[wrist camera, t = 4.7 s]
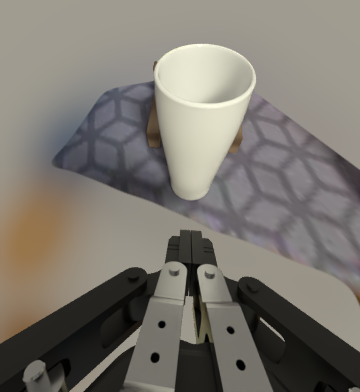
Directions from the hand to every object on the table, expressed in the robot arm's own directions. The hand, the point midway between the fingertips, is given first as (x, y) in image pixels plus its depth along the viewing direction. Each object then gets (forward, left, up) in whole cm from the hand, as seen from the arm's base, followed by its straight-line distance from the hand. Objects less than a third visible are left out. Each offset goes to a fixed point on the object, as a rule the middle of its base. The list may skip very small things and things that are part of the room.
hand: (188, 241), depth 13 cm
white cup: (-4, -9, -9) cm, 13 cm away
